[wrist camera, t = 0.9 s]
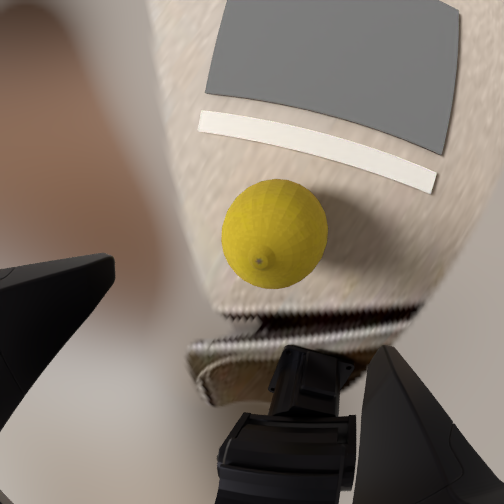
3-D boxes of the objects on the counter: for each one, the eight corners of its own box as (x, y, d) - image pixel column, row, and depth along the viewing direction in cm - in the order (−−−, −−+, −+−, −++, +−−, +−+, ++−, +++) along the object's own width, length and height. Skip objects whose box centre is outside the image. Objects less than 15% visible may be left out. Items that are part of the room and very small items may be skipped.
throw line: (428, 192, 16) (430, 194, 15) (200, 131, 18) (197, 131, 18) (434, 172, 15) (436, 172, 14) (203, 110, 17) (201, 110, 17)
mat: (439, 154, 14) (441, 155, 14) (207, 93, 17) (204, 92, 16) (456, 12, 9) (458, 10, 9) (241, -39, 12) (239, -41, 11)
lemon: (316, 163, 17) (310, 180, 10) (334, 243, 19) (336, 310, 12) (236, 182, 19) (180, 212, 12) (258, 256, 20) (220, 321, 13)
